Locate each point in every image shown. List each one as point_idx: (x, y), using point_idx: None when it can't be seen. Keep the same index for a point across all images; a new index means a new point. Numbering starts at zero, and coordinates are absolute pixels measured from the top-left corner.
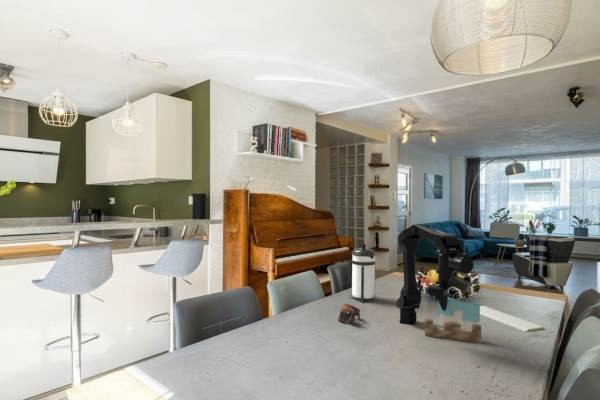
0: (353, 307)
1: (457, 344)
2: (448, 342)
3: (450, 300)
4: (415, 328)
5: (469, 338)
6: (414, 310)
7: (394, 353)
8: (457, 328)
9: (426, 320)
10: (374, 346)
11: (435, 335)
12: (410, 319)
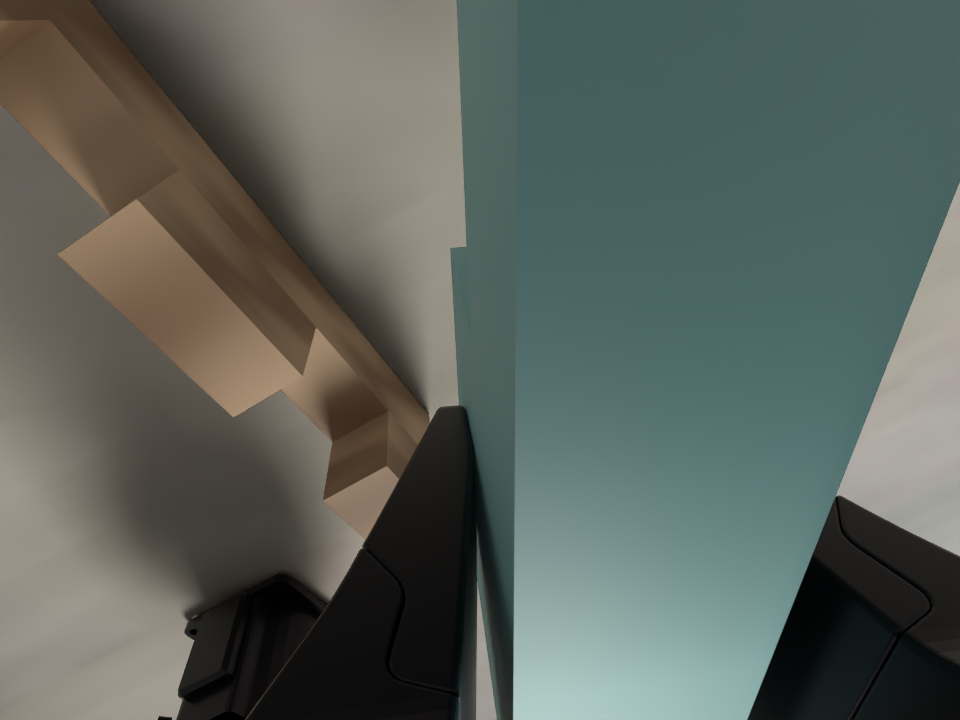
0: None
1: (363, 111)
2: (396, 204)
3: (807, 492)
4: (347, 531)
5: (117, 58)
6: (236, 701)
7: (937, 351)
8: (197, 219)
9: None
10: (885, 480)
11: (376, 358)
12: (292, 628)
